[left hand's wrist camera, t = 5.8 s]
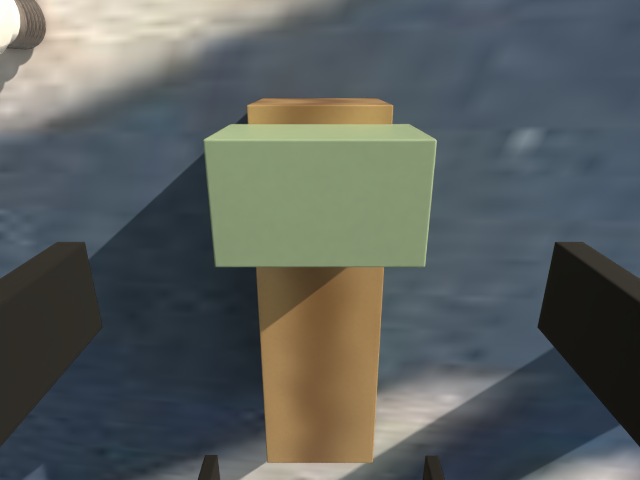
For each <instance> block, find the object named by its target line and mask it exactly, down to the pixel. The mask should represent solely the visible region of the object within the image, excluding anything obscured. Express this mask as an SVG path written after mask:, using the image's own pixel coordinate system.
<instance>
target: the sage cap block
mask: <svg viewBox="0 0 640 480" xmlns="http://www.w3.org/2000/svg"><path fill="white" fill-rule="evenodd" d="M203 143H204V154H205V165H206V175H207V186H208V197H209V207H210V218H211V228H212V239H213V250H214V260H215V266H216V267H424V266H425V260H426V250H427V239H428V228H429V218H430V207H431V197H432V186H433V175H434V165H435V154H436V143H437V141H436V139H434V138H432V137H430V136H429V135H427V134H425V133H423V132H422V131H420V130H418V129H416V128H415V127H413V126H411V125H409V124H231V125H229V126H227V127H225V128H224V129H222V130H220V131H218V132H217V133H215V134H213V135H211V136H209V137H208V138H206V139H204V141H203Z"/></svg>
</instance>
